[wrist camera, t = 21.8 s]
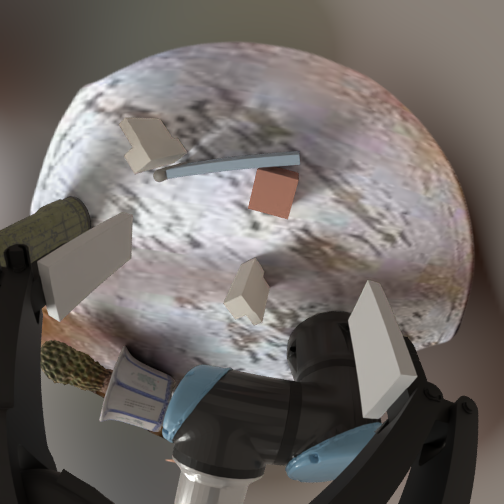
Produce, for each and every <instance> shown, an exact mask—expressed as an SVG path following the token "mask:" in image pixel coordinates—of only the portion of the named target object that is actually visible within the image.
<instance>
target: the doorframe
mask: <svg viewBox="0 0 504 504" xmlns="http://www.w3.org/2000/svg"><path fill="white" fill-rule="evenodd" d="M119 126H120V127H121V129H122V131H123V132H124V134H125V136H126V137H127V139H128V141H129V142H130V144H131V145H132V147H133V148H131V149H130V150H129V151H128V152H127V153H126V154H125V155H124V157H125V159H126V161H127V162H128V164H129V166H130V167H131V169H132V170H133V172H134V174H137V173H141V172H144V171H147V170H151V169H154V168H158V167H161V166H165V165H169V164H172V163H175V162H176V161H177V160H179V159H180V158H181V157H183V156H184V155H185V154H187V151H186V150H185V148H184V147H183V145H182V143H181V142H180V140H179V139H178V138H174V139H173V138H172V136H171V135H170V133H169V132H168V130H167V129H166V127H165V126H164V124H163V122H162V121H161V119H154V118H125V119H124V120H123V121H122V122H121V123H120V124H119ZM263 275H264V270H263V268H262V267H261V265H260V264H259V262H258V261H257V259H256V257H255V258H253V259H251V260H249V261H247V262H245V263H243V264H241V265H240V268H239V270H238V272H237V274H236V276H235V279H234V281H233V283H232V285H231V287H230V290H229V292H228V294H227V296H226V299H225V301H224V303H223V304H224V305H225V306H226V308H227V309H228V310H229V312H230V313H231V314H232V316H233V317H234V318H235V319H238V318H240V317H243V316H245V315H246V316H247V317H248V318H249V320H250V321H251V322H252V324H253V325H257V324H259V323H262V321H263V316H264V312H265V307H266V303H267V298H268V293H269V289H270V287H269V285H268V284H267V282H266V281H265V279H264V278H263Z"/></svg>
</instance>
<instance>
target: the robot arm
mask: <svg viewBox="0 0 504 504" xmlns="http://www.w3.org/2000/svg"><path fill="white" fill-rule="evenodd" d="M132 224H133V215H131V214H128V213H124V212H121V213H119V214H117V215H116V216H114V217H112V218H110V219H108V220H106V221H104V222H103V223H101V224H99V225H97V226H95V227H93V228H92V229H90V230H88V231H86V232H85V233H83V234H81V235H79V236H78V237H76V238H74V239H73V240H71V241H69V242H66V243H63V244H61V245H59V246H57V247H56V248H55V249H53V250H51V251H49V253H46V254H45V255H43V256H41V257H40V258H38V259H37V260H35V261H34V262H32V263H31V259H30V252H29V247H28V246H27V245H25V244H15V245H12V246H9V247H8V248H6V249H5V250H4V252H3V253H4V258H5V262H6V267H3V266H1V262H0V504H115V503H113V502H112V501H110V500H109V499H108V498H106V497H105V496H104V495H103V494H101V493H100V492H99V491H98V490H96V489H95V488H94V487H92V486H90V485H89V484H87V483H85V482H84V481H82V480H80V479H79V478H77V477H75V476H74V475H72V474H71V473H69V472H67V471H66V470H65V469H63V470H62V472H57V468H56V465H55V462H54V460H53V457H52V455H51V453H50V451H49V449H48V446H47V441H46V434H45V427H44V418H43V408H42V395H41V333H42V319H43V313H42V308H43V307H44V306H45V305H46V306H47V310H48V314H49V315H50V316H51V317H53V318H54V319H56V320H58V321H61V320H62V319H63V318H64V317H65V316H66V315H67V314H69V313H70V312H71V311H72V310H73V309H74V308H75V307H76V306H77V305H78V304H79V303H80V302H81V301H83V300H84V299H85V298H86V297H87V296H88V295H89V294H90V293H91V292H93V291H94V290H95V289H96V288H97V287H98V286H99V285H100V284H102V283H103V282H104V281H105V280H106V279H107V278H108V277H110V276H111V275H112V274H113V273H114V272H115V271H117V270H118V269H119V268H120V267H121V266H123V265H124V264H125V263H126V262H127V261H129V260H130V259H131V250H132ZM287 361H288V365H289V367H290V370H291V373H292V375H293V378H294V381H290V380H284V379H278V378H272V377H266V376H261V375H255V374H250V373H245V372H240V371H236V370H233V369H232V368H220V367H215V366H210V365H198V366H196V367H194V368H193V369H191V370H190V371H189V372H188V373H187V374H186V375H185V376H184V378H183V379H182V380H181V382H180V383H179V385H178V387H177V388H176V390H175V392H174V394H173V396H172V398H171V400H170V403H169V405H168V408H167V411H166V414H165V417H164V421H163V427H164V428H163V430H162V433H163V436H164V438H165V439H167V440H168V441H169V442H172V443H174V444H175V445H174V450H173V454H172V458H173V460H174V461H175V462H176V463H177V465H178V466H179V467H180V469H181V474H180V479H179V483H178V488H177V493H176V497H175V502H174V504H243V502H244V499H245V495H246V491H247V488H248V485H249V484H250V483H252V482H254V481H256V480H258V479H260V478H261V477H263V474H264V470H265V466H266V464H275V465H283V466H286V468H285V470H286V472H287V475H288V477H289V478H291V479H293V480H299V481H300V482H325V481H331V480H334V481H333V482H332V483H331V484H330V485H328V486H327V487H326V488H325V489H324V490H323V491H322V492H321V493H320V494H319V495H318V496H317V497H316V498H314V499H313V500H312V501H311V502H310V503H309V504H386V503H387V502H388V500H389V499H390V498H391V496H392V495H393V494H394V492H395V491H396V489H397V488H398V486H399V485H400V483H401V482H402V480H403V479H404V477H405V476H406V474H407V472H408V471H409V469H410V467H411V470H410V473H409V476H408V479H407V482H406V485H405V487H404V490H403V493H402V495H401V498H400V501H399V503H398V504H470V499H471V494H472V488H473V482H474V475H475V467H476V457H477V444H478V408H477V406H476V404H475V402H474V401H473V400H472V399H470V398H469V397H467V396H461V397H460V398H459V399H458V400H457V401H456V402H455V403H453V402H450V401H447V400H445V399H444V398H443V394H442V392H441V391H440V389H439V388H438V387H437V386H436V385H434V384H432V383H430V382H427V379H426V376H425V373H424V370H423V368H422V365H421V362H420V361H419V357H418V355H417V352H416V350H415V347H414V345H413V344H412V342H411V341H410V340H409V339H408V337H404V336H402V333H401V331H400V328H399V326H398V323H397V321H396V318H395V316H394V314H393V311H392V309H391V307H390V304H389V302H388V300H387V297H386V295H385V293H384V291H383V289H382V286H381V284H380V283H378V282H374V281H370V280H367V282H366V285H365V287H364V289H363V291H362V293H361V295H360V297H359V299H358V301H357V303H356V306H355V308H354V310H353V312H352V314H351V313H347V312H327V313H322V314H318V315H315V316H313V317H311V318H309V319H307V320H305V321H304V322H302V323H301V324H300V325H298V326H297V327H296V328H295V329H294V331H293V332H292V334H291V335H290V337H289V340H288V345H287ZM386 411H387V414H388V419H387V420H386V421H385V422H384V423H383V424H382V423H381V416H382V415H383V414H384V413H385V412H386Z"/></svg>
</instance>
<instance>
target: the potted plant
mask: <svg viewBox="0 0 504 504" xmlns="http://www.w3.org/2000/svg"><path fill="white" fill-rule="evenodd" d="M41 368H42V371H43V372H44V373H45V374H46V375H47V377H48V378H49V379H51V380H53V382H54V383H63V384H64V385H66V384H70V385H74V386H76V387H79V388H80V389H82V390H90V391H92V390H94V391H93V392H94V393H95V394H96V391H101V392H103V393H105V394H106V395H105V398H104V402H103V406H102V411H101V415H100V421H101V422H102V421H106V420H117V421H122V422H126V423H128V424H132V425H135V426H138V427H141V428H144V429H147V430H151V431H154V432H158V431H160V428H161V426H162V424H163V421H164V417H165V414H166V411H167V408H168V405H169V403H170V400H171V397H172V390H173V388H174V385H175V382H176V381H175V380H174V379H173V377H172V376H170V375H168V374H165V373H163V372H161V371H159V370H156V369H154V368H151V367H149V366H147V365H145V364H143V363H141V362H140V361H138V360H136V359H135V358H134V357H132V355H131V354H130V353H129V351H128V350H127V348H126V346H124V347H123V348H122V350H121V352H120V355H119V357H118V360H117V362H116V365H115V367H114V369H113V370H111V369H105V368H104V367H103V366H101V365H100V364H99V362H98V361H97V362H94V359H92V358H91V357H90V356H89V355H88V354H85V353H83V352H81V351H76V350H75V349H74V348H72V347H71V346H68V345H67V344H66V343H63V342H59V341H56V340H54V341H52V340H50V341H46V342H45V343H44V344H43V345H42V347H41Z"/></svg>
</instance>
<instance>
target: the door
mask: <svg viewBox="0 0 504 504" xmlns="http://www.w3.org/2000/svg"><path fill="white" fill-rule="evenodd" d="M287 165H300V156H299V151H293V152H278V153H266V154H255V155H245V156H236V157H228V158H220V159H212V160H205V161H198V162H192V163H187V162H183V163H179V164H176V165H172V166H169V167H165V168H162V169H158V170H156V171H155V172H154V174H153V177H154V179H155V181H157V182H161V181H164V180H167V179H170V178H177V177H183V176H190V175H197V174H205V173H213V172H221V171H230V170H239V169H249V168H261V167H273V166H287Z"/></svg>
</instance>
